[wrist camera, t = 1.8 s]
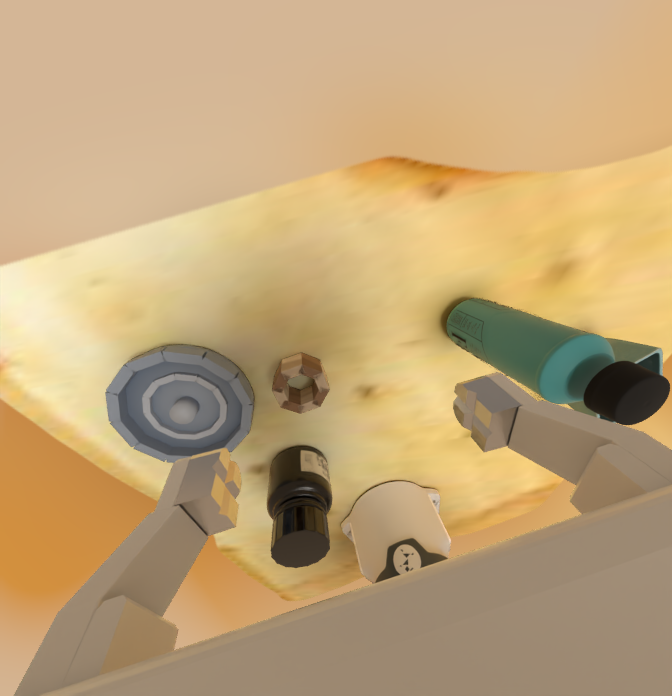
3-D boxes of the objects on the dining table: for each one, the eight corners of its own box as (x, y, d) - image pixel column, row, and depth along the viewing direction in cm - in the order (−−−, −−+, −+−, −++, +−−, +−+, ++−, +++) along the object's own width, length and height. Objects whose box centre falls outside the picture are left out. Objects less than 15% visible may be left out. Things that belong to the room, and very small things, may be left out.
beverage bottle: (428, 324, 34) (579, 420, 16) (464, 283, 33) (674, 337, 15) (459, 349, 37) (622, 458, 18) (494, 311, 35) (709, 390, 17)
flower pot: (541, 395, 42) (600, 432, 34) (529, 355, 39) (592, 386, 31) (591, 366, 41) (664, 398, 33) (584, 323, 38) (663, 346, 30)
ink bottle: (334, 478, 43) (347, 560, 32) (283, 495, 43) (279, 583, 32) (316, 435, 39) (325, 511, 28) (260, 453, 39) (246, 537, 28)
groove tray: (273, 425, 37) (271, 439, 35) (167, 463, 37) (158, 480, 34) (218, 325, 31) (211, 333, 28) (90, 371, 30) (71, 383, 28)
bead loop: (330, 387, 36) (334, 401, 33) (287, 402, 36) (286, 418, 33) (315, 347, 33) (317, 359, 30) (268, 364, 33) (265, 377, 30)
